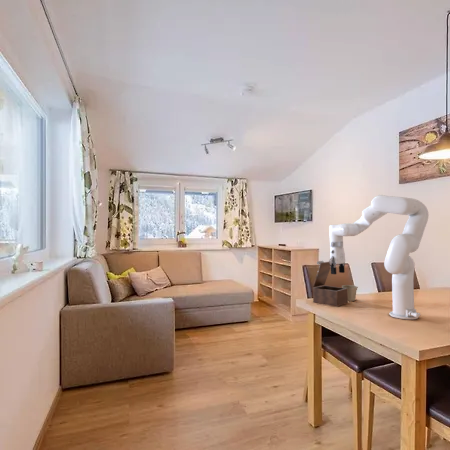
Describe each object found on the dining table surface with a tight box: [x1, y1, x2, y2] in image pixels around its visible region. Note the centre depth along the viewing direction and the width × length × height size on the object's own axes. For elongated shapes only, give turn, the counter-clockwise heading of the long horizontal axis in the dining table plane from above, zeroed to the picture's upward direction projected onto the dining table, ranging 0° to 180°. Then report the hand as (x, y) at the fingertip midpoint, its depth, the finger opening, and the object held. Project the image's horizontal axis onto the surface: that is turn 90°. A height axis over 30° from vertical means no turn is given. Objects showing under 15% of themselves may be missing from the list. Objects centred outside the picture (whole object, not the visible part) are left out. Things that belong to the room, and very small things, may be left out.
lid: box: [312, 260, 331, 288], centre depth 191 cm, size 17×13×5 cm
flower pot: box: [341, 284, 359, 302], centre depth 192 cm, size 9×9×9 cm
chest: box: [312, 284, 349, 307], centre depth 185 cm, size 16×13×9 cm
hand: (337, 273), depth 182 cm, fingers open, 9 cm apart
